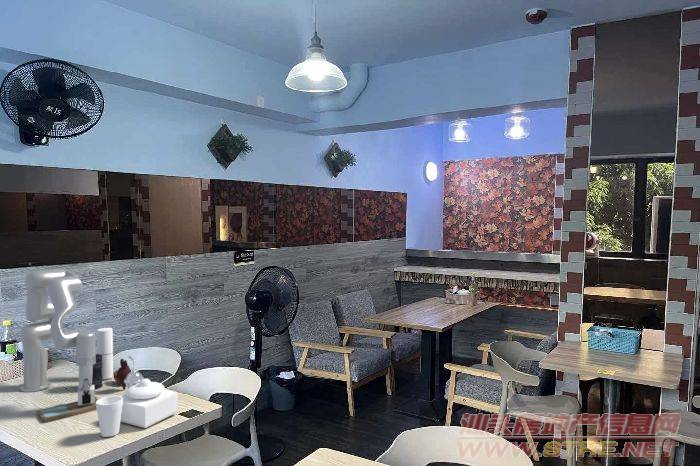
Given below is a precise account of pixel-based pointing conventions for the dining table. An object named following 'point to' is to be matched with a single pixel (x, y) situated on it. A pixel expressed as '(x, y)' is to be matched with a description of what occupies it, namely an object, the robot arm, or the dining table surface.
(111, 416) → the foam cup
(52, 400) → the dining table surface
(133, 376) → the cup with straw
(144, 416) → the butter dish
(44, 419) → the post stand
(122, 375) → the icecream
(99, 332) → the cylindrical container
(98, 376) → the storage jar
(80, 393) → the white cube with handle
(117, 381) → the hot dog
